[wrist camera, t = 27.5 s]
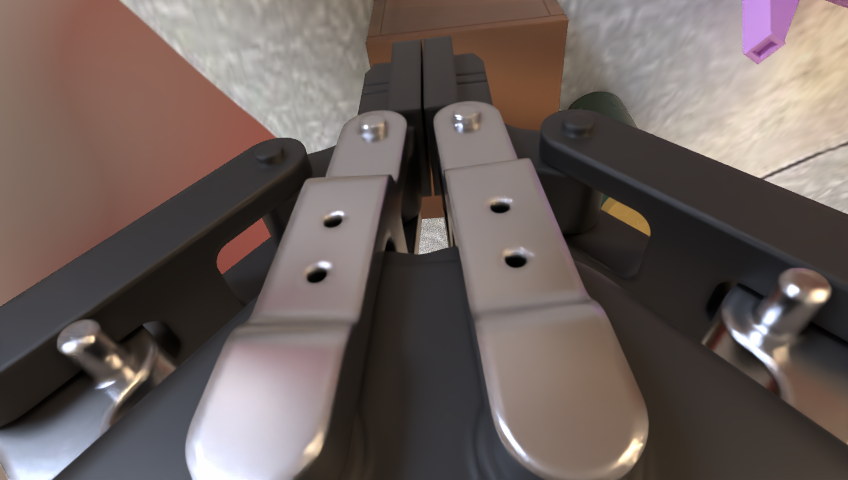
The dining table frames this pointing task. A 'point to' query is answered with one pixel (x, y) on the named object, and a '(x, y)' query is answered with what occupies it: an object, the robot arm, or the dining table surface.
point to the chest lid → (501, 70)
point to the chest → (452, 14)
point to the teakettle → (768, 25)
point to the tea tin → (617, 111)
